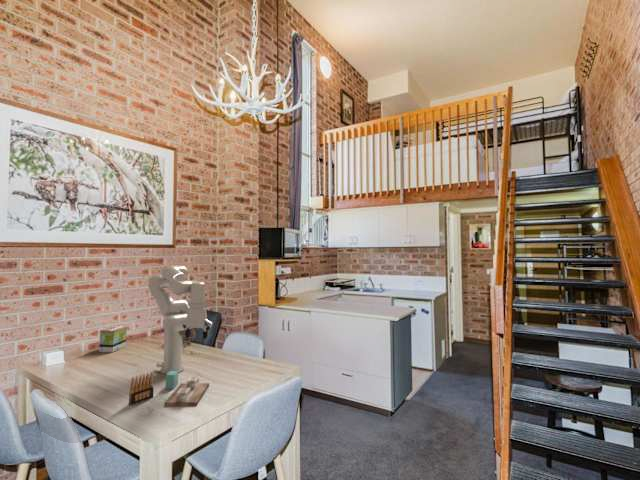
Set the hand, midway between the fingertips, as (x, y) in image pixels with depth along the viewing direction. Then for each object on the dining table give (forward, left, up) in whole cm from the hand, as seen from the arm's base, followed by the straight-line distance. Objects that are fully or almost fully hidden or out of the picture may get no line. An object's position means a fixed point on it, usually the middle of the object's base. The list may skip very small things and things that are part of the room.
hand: (196, 337), depth 180 cm
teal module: (-10, -6, -23) cm, 26 cm away
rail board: (+2, -17, -23) cm, 29 cm away
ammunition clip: (-18, -22, -23) cm, 37 cm away
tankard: (-30, +78, -23) cm, 86 cm away
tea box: (-73, +61, -23) cm, 98 cm away
